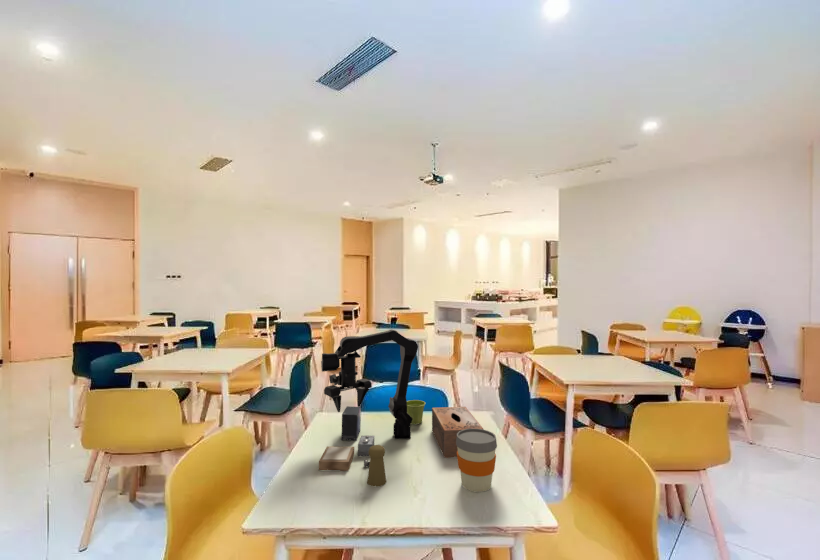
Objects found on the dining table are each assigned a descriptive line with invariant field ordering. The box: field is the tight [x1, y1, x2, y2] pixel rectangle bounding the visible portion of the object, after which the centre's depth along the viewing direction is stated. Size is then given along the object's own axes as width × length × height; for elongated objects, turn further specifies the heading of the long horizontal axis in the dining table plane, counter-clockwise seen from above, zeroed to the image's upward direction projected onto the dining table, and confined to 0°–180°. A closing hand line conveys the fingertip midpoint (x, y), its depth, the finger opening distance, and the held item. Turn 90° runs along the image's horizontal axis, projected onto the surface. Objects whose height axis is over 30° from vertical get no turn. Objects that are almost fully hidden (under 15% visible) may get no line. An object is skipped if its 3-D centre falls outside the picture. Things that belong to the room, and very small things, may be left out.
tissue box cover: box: [431, 406, 485, 459], centre depth 153 cm, size 26×14×10 cm, turn 7°
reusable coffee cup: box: [456, 428, 498, 493], centre depth 121 cm, size 13×13×15 cm
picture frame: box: [318, 445, 355, 472], centre depth 135 cm, size 10×12×3 cm
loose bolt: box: [363, 459, 370, 468], centre depth 133 cm, size 6×2×2 cm, turn 109°
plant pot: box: [407, 399, 426, 425], centre depth 175 cm, size 9×9×9 cm
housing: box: [357, 435, 375, 457], centre depth 144 cm, size 5×8×5 cm, turn 179°
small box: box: [340, 405, 362, 442], centre depth 159 cm, size 11×6×10 cm, turn 179°
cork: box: [366, 444, 387, 488], centre depth 122 cm, size 6×6×11 cm
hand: (348, 409), depth 152 cm, fingers open, 9 cm apart
